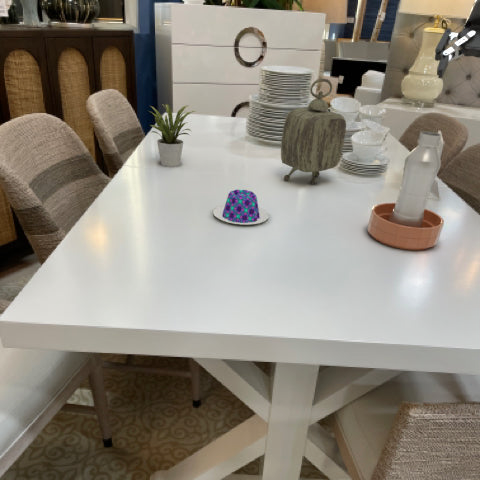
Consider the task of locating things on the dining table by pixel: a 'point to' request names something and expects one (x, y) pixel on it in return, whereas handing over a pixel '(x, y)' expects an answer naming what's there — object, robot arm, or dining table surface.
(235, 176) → the dining table surface
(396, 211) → the plastic bottle
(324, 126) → the tabletop clock
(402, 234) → the pan
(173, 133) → the house plant
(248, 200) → the pudding
